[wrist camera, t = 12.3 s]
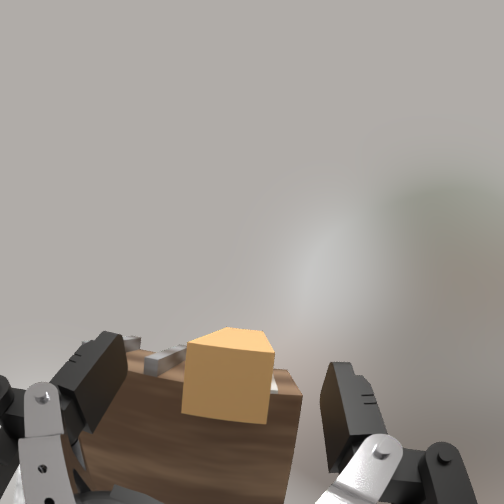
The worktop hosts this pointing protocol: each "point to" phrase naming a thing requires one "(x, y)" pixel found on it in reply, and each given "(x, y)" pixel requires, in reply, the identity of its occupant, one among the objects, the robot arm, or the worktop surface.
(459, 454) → the robot arm
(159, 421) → the walnut stand
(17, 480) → the worktop surface
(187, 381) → the wooden bar
